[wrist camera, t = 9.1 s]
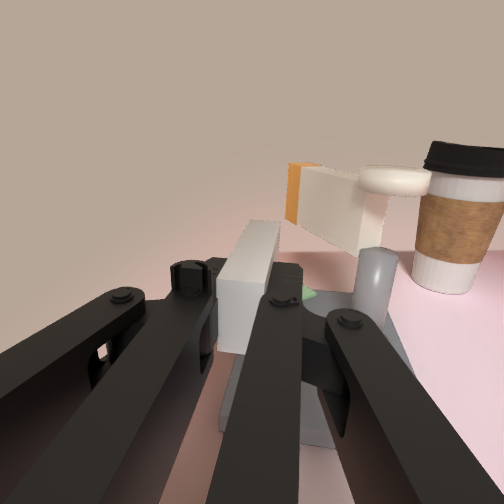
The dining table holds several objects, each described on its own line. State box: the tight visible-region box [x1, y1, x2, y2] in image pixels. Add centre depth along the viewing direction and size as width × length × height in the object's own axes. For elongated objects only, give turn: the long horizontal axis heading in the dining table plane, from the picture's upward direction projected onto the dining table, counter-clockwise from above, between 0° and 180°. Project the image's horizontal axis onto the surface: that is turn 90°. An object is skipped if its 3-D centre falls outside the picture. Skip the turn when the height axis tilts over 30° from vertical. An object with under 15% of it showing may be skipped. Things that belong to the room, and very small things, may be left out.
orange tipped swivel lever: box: [285, 163, 432, 333], centre depth 26 cm, size 13×4×12 cm, turn 23°
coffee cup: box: [411, 141, 504, 294], centre depth 35 cm, size 8×8×15 cm
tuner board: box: [219, 285, 416, 449], centre depth 26 cm, size 12×18×2 cm
